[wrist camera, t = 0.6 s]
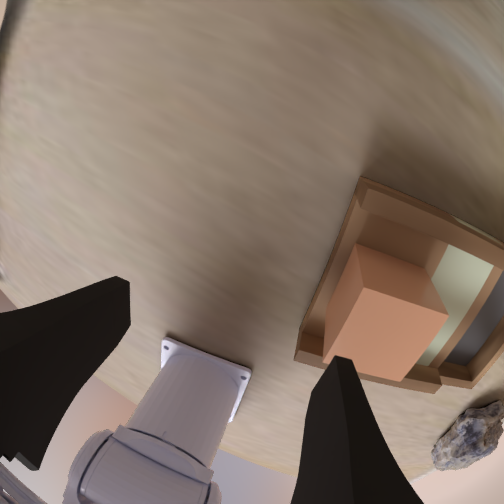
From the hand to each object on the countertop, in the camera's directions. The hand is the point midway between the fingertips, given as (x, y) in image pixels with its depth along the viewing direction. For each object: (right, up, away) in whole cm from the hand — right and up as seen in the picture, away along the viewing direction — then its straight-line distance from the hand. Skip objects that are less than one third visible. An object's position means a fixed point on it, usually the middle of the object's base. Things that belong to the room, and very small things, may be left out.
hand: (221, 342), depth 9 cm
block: (+8, +1, +6) cm, 10 cm away
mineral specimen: (+24, -16, +12) cm, 31 cm away
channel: (+12, 0, +7) cm, 14 cm away
